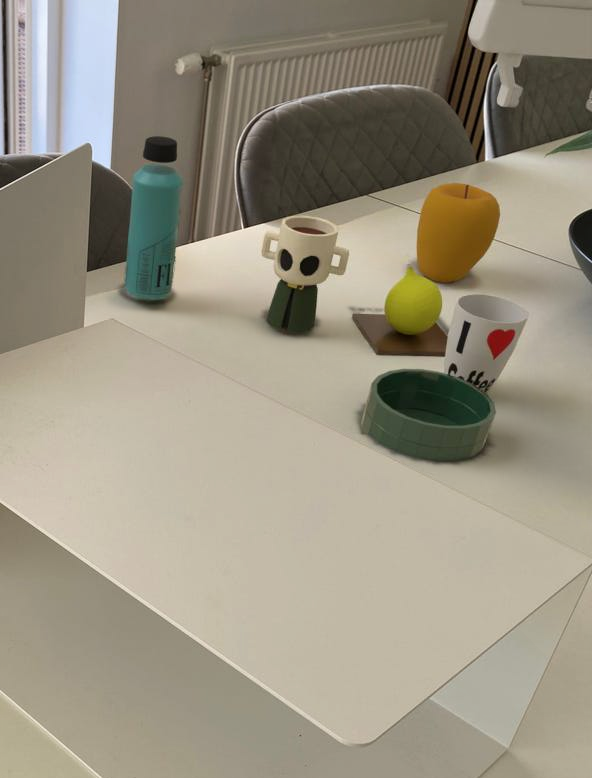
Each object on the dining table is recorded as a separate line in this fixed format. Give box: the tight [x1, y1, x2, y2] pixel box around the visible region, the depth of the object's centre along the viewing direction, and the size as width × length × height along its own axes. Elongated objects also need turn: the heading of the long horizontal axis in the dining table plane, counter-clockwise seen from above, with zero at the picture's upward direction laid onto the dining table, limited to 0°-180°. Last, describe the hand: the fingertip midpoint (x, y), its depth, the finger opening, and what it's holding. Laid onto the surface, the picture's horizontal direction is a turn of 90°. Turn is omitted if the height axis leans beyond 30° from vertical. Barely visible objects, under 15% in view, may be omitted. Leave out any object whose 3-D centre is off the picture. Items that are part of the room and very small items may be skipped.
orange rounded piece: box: [416, 182, 501, 284], centre depth 143 cm, size 11×11×13 cm
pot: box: [360, 368, 497, 462], centre depth 108 cm, size 13×13×5 cm
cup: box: [443, 293, 530, 394], centre depth 117 cm, size 8×8×10 cm
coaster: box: [351, 313, 448, 357], centre depth 130 cm, size 11×11×1 cm
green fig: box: [383, 254, 443, 335], centre depth 126 cm, size 7×7×10 cm
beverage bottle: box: [123, 135, 184, 301], centre depth 126 cm, size 6×7×20 cm
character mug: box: [261, 215, 350, 334], centre depth 125 cm, size 11×7×13 cm, turn 65°
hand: (551, 108), depth 98 cm, fingers open, 8 cm apart
